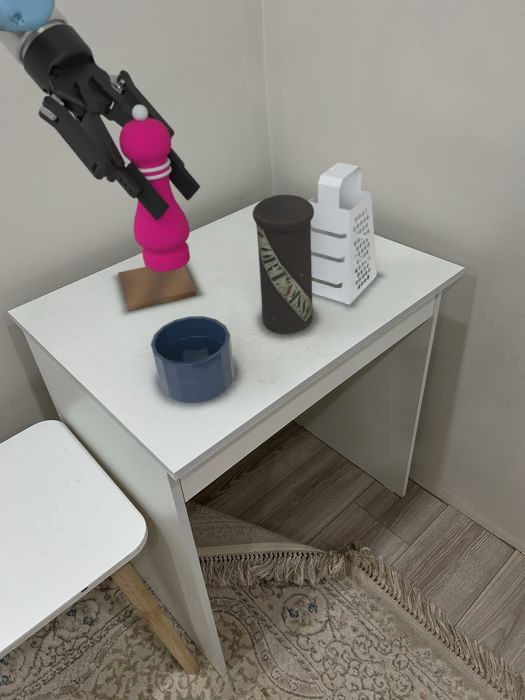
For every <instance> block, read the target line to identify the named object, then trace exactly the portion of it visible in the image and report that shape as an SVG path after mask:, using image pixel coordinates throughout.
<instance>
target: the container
mask: <svg viewBox="0 0 525 700" xmlns="http://www.w3.org/2000/svg"><path fill="white" fill-rule="evenodd" d="M308 201H309V200H307V199H306V198H303V197H302V196H298V195H294V194H276V195H271V196H268V197H265V198H263V199H261V200H260V201H259V202H258V203H257V204H255V206H254V208H253V209H252V219H253V221H254V222H255V225H256V234H257V235H256V236H257V238H256V239H257V248H258V249H257V252H258V266H259V280H260V281H259V282H260V297H261V299H260V300H261V318H262V323H263V325H264V327H265V328H266V329H267V330H268V331H270V332H272V333H274V334H278V335H292V334H296V333H299V332H301V331H303V330H305V329H306V328H308V327H309V326H310V325H311V323H312V321H313V317H314V316H313V315H314V308H313V307H314V305H313V293H312V281H313V277H312V265H311V220H312V218H313V216H314V209H313V206H312V204H311V203H310V202H308Z"/></svg>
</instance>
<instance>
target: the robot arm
mask: <svg viewBox="0 0 525 700" xmlns="http://www.w3.org/2000/svg"><path fill="white" fill-rule="evenodd" d="M55 4H56V0H0V43H1V45H3V46H4V48H5V49H6V50H7V51H8V52H9V54H11V57H13V58H14V60H15V61H17V63H18V64H20V65H21V66H23V69H24V71H25V72H26V74H27V75H28V76H29V77H30V79H32V80H33V82H34V83H35V84H36V86H37V87H38V88H39V89H40V90H41V91H42V92H43V93H44V94H46V95H45V96H44V97H43V99H42V103H41V105H40V106H39V110H38V116H39V117H40V119H42V120H43V121H45V122H46V123H47V124H49V125H50V126H51V127H53V128H54V129H55V131H56V132H57V133H58V134H59V136H60V137H61V138H62V139H63V141H64V142H65V143H66V144H67V145H68V147H69V148H70V149H71V151H73V153H74V154H75V155H76V156H77V158H78V159H79V160H80V161H81V162H82V164H83V165H84V166H85V167H86V169H87V170H88V172H90V174H91V175H92V176H93V177H94V179H96V180H98V181H101V180H103V179H104V178H105V179H106V180H107V181H108V182H109V183H114V182H115V181H116V182H117V183H118V184H119V185H120V187H121V188H122V189H123V190H124V191H125V192H126V193H127V195H128V196H129V197H131V198H132V199H137V201H138V200H139V201H140V203H141V204H142V205H143V206H144V207H145V208H146V210H147V211H148V212H149V213H150V214H151V216H152V217H153V218H154V219H155V220H156V221H157V220H158V219H160V218H161V216H162V215H163V214H164V213H165V212H166V210H167V209H168V208H169V207H170V206H169V205H168V204H167V203H166V201H165V200H164V199H163V198H162V197H161V195H160V194H159V193H158V192H157V191H156V190H155V188H154V187H153V186H152V185H151V184H150V182H149V181H148V180H147V179H146V178H145V177H144V175H143V174H142V173H141V172H140V171H139V169H138V168H137V167H136V166H135V165H134V164H133V162H132V163H130V162H129V163H130V164H129V163H128V164H127V165H126V161H125V159H124V157H123V156H122V154H121V152H120V150H119V148H118V146H117V144H116V143H115V141H114V139H113V137H112V136H111V133H110V132H109V129H108V128H107V126H106V124H105V123H104V120H103V118H102V116H103V117H104V118H105V119H107V120H108V121H109V122H115V124H117V125H118V126H120V127H121V129H122V128H123V127H124V125H125V124H126V123H128V122H129V121H131V120H134V117H133V115H132V110H133V108H134V106H136V105H143V106H145V107H146V109H147V111H148V116H147V118H153V119H156V120H158V121H160V122H161V123H162V124H163V125H164V126H165V127H166V128H167V130H168V132H169V134H170V138H171V140H172V138H173V137H174V136H175V130H174V129H173V128H172V126H170V124H169V123H168V122H167V121H166V120H165V118H163V117H162V114H160V112H158V110H157V109H156V108H155V107H154V106H153V105H152V103H151V102H150V101H149V100H148V99H147V98H146V97H145V96H144V94H143V93H142V92H141V90H140V89H138V87H137V86H136V85H135V83H134V81H133V79H132V77H131V75H130V74H129V72H128V71H126V70H124V69H121V70H120V72H119V73H118V74H116V75H115V74H114V75H113V74H109V73H108V72H107V71H106V70H104V69H103V68H102V67H100V66H99V65H98V64H97V63H96V61H95V59H94V54H93V52H92V49H91V47H90V46H89V45H88V44H87V43H86V41H85V40H84V39H83V38H82V36H81V35H80V34H79V32H77V30H76V29H75V28H74V27H73V26H72V25H70V24H69V21H68V19H67V18H66V17H65V15H64V14H63V13H62V12H61V11H60V9H58V7H57V6H56V5H55ZM167 158H169V159H170V167H171V172H170V173H169V182H170V183H171V184H172V185H173V186H174V187H175V188H176V190H177V191H178V192H179V193H180V195H182V197H183V198H184V199H185V201H187V202H188V201H189V200H191V199H193V197H194V195H195V194H196V193H197V192H198V191H199V189H200V188H201V185H200V184H199V183H198V181H197V180H196V179H195V178H194V176H192V174H191V173H190V172H189V171H188V169H187V168H186V165H185V162H184V161H183V160H182V158H181V157H180V156H179V155H178V154H177V153H176V151H175V150H174V149H173V147H171V150H170V152H169V153H168V155H167Z"/></svg>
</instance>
